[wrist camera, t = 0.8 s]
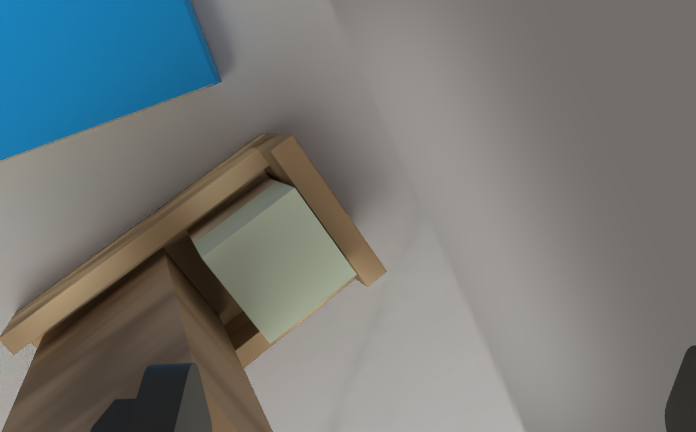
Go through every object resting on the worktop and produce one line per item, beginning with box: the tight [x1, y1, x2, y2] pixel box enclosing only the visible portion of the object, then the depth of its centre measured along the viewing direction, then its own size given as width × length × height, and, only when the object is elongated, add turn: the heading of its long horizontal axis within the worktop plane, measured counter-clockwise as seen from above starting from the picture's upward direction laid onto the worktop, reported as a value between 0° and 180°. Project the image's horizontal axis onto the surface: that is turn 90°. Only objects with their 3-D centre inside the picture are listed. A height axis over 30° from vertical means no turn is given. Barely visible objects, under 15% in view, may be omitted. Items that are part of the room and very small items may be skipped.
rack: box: [0, 134, 387, 368], centre depth 27 cm, size 13×7×6 cm, turn 125°
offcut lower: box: [187, 175, 276, 243], centre depth 27 cm, size 4×4×4 cm
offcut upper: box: [194, 181, 357, 344], centre depth 24 cm, size 4×4×3 cm
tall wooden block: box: [2, 247, 273, 432], centre depth 20 cm, size 6×4×16 cm, turn 125°
